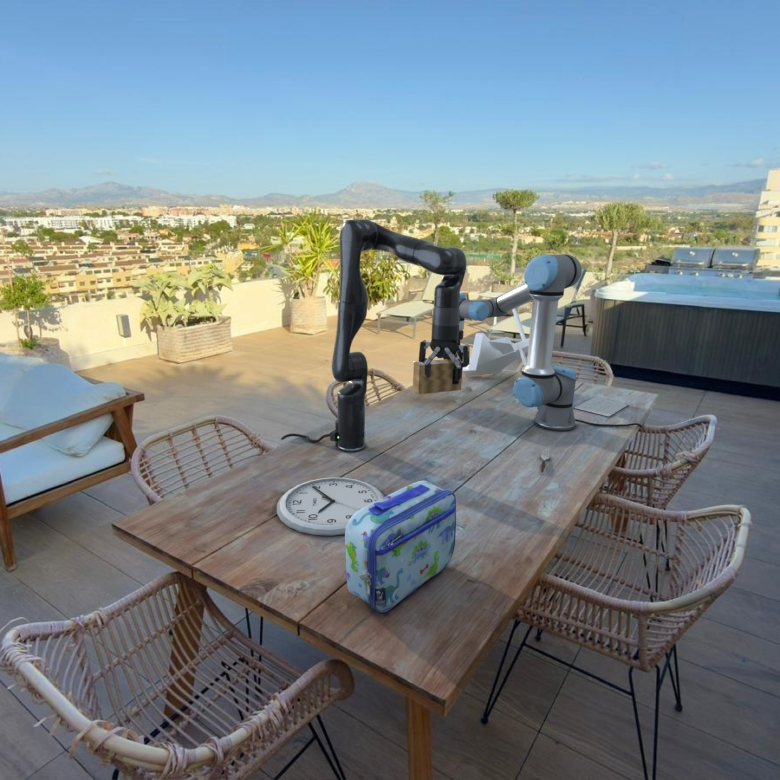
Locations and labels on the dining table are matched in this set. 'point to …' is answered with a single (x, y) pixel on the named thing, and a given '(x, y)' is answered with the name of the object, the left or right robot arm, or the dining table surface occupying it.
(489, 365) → the white plastic object
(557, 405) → the right robot arm
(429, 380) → the box
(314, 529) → the wall clock
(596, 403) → the invitation card
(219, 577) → the dining table surface
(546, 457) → the fork
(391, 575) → the lunch box
